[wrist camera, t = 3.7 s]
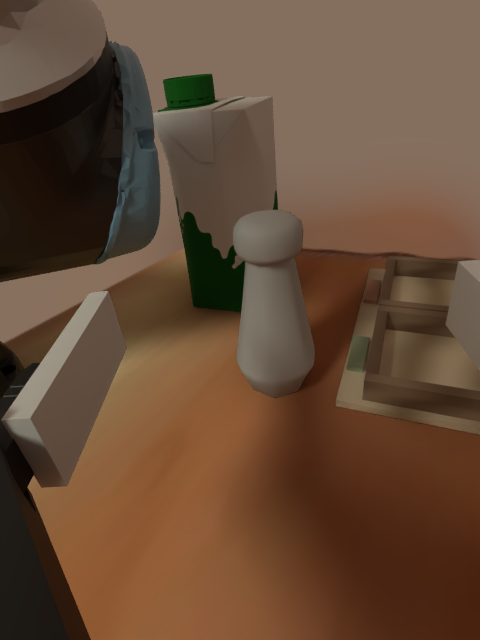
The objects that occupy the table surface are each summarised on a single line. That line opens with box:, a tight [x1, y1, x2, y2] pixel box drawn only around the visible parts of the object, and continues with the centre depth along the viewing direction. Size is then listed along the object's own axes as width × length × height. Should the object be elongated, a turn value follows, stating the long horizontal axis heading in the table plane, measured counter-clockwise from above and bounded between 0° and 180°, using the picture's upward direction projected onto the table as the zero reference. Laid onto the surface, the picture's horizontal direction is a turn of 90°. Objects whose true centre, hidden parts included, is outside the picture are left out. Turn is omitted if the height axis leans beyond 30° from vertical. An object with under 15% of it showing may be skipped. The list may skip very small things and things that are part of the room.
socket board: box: [336, 256, 480, 435], centre depth 33 cm, size 11×20×2 cm, turn 159°
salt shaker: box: [233, 210, 315, 398], centre depth 28 cm, size 6×6×13 cm
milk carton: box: [153, 74, 278, 312], centre depth 37 cm, size 9×9×20 cm
